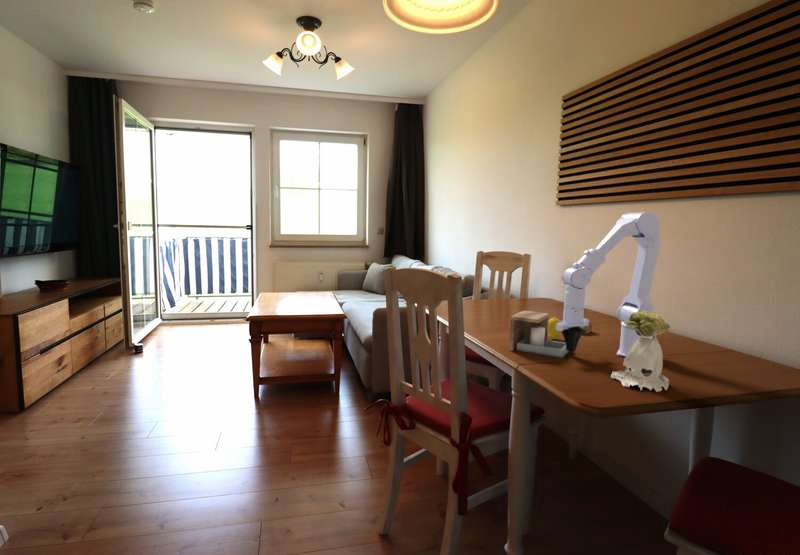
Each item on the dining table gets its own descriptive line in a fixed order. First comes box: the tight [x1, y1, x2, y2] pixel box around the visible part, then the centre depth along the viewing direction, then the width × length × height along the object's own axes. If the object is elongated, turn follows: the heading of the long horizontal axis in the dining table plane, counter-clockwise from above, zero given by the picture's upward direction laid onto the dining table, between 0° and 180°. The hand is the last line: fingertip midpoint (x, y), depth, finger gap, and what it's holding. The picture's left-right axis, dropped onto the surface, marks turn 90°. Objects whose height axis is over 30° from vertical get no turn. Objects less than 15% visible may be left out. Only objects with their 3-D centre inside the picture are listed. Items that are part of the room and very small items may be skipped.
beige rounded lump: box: [530, 326, 545, 347], centre depth 143 cm, size 4×4×6 cm
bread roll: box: [580, 316, 593, 335], centre depth 171 cm, size 10×10×8 cm
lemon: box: [548, 316, 563, 340], centre depth 157 cm, size 6×6×8 cm
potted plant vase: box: [610, 311, 671, 393], centre depth 113 cm, size 12×13×18 cm
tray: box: [516, 337, 570, 359], centre depth 142 cm, size 14×10×2 cm
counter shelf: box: [509, 310, 550, 352], centre depth 144 cm, size 8×12×11 cm
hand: (570, 351), depth 137 cm, fingers closed
